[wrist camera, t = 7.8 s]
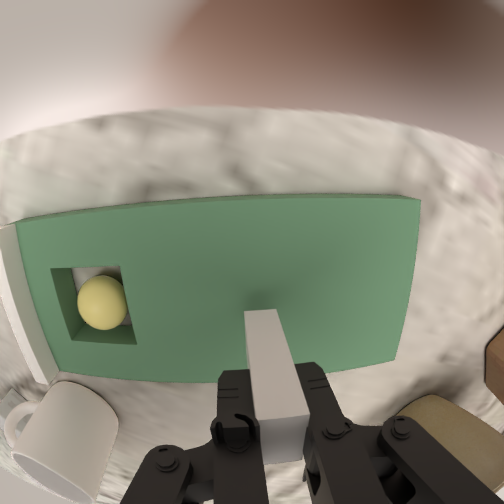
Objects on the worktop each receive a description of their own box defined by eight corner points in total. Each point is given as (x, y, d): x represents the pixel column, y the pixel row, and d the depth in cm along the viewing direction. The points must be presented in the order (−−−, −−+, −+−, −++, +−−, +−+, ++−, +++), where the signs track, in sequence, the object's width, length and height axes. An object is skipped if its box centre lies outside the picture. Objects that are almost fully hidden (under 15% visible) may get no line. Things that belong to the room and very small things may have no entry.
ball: (117, 309, 19) (78, 326, 17) (108, 264, 18) (65, 279, 16) (143, 325, 17) (98, 346, 15) (133, 274, 16) (82, 293, 14)
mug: (39, 409, 22) (6, 467, 12) (18, 358, 20) (-31, 418, 10) (126, 439, 23) (105, 514, 13) (113, 390, 21) (77, 479, 11)
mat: (59, 352, 20) (36, 382, 15) (23, 219, 16) (-15, 232, 12) (381, 343, 21) (405, 375, 17) (400, 195, 17) (440, 204, 13)
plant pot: (353, 407, 23) (412, 541, 8) (470, 347, 23) (552, 433, 7) (358, 465, 27) (391, 555, 12) (450, 420, 27) (498, 492, 12)
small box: (8, 402, 22) (-7, 424, 17) (11, 385, 21) (-7, 409, 16) (40, 429, 23) (27, 452, 19) (46, 415, 22) (31, 441, 18)
